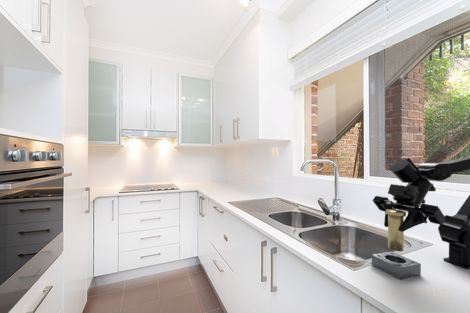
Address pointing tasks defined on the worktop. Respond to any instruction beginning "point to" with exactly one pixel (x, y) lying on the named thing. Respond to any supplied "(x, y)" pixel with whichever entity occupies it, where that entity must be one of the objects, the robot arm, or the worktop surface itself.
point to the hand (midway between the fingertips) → (392, 228)
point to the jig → (396, 265)
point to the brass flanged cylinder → (395, 229)
